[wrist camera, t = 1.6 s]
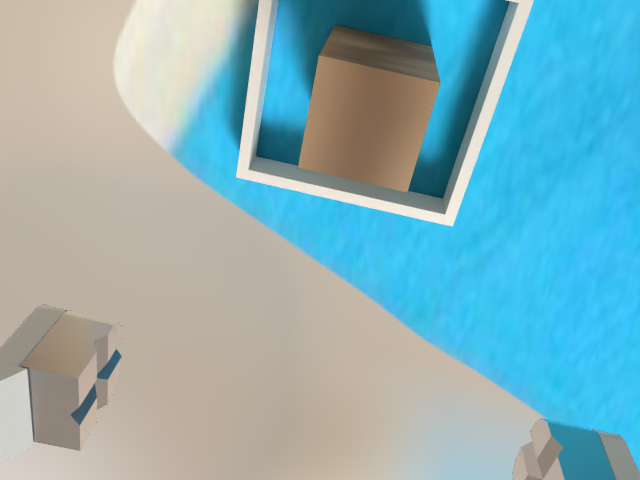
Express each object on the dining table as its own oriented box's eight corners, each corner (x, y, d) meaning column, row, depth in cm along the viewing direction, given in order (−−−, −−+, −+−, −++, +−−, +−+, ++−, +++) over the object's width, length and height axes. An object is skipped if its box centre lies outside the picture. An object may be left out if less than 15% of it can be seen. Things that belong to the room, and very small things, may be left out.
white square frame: (528, -14, 27) (537, -9, 26) (449, 210, 34) (452, 226, 32) (276, -71, 27) (268, -69, 26) (244, 163, 34) (236, 177, 32)
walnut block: (431, 46, 29) (440, 82, 23) (405, 138, 32) (407, 192, 26) (335, 24, 29) (319, 55, 23) (316, 118, 32) (298, 167, 26)
